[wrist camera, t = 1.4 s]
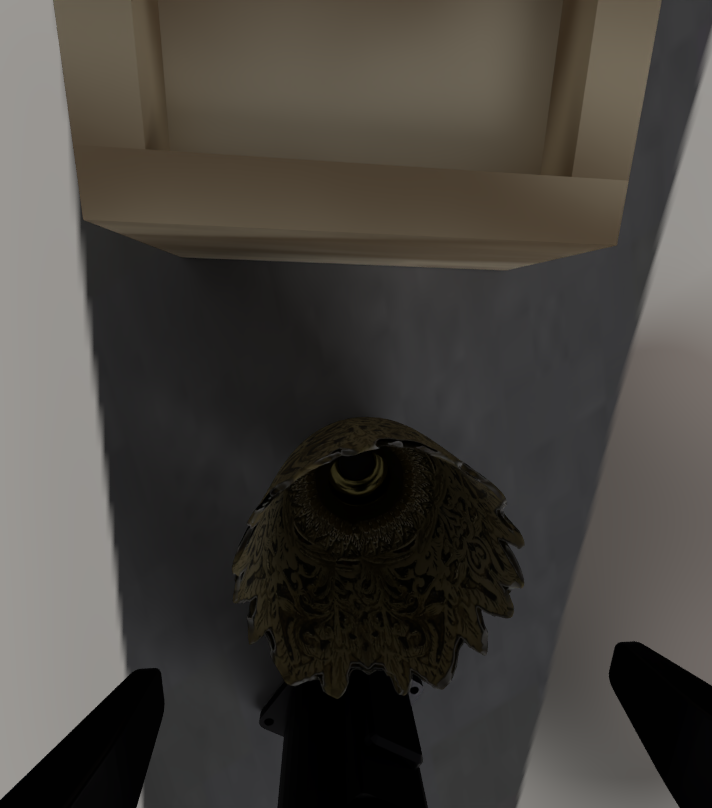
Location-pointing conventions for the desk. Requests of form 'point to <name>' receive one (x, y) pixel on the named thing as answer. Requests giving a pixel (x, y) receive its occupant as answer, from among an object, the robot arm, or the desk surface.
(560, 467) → the desk surface
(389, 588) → the cup
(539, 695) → the desk surface
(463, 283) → the desk surface
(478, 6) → the wooden box
